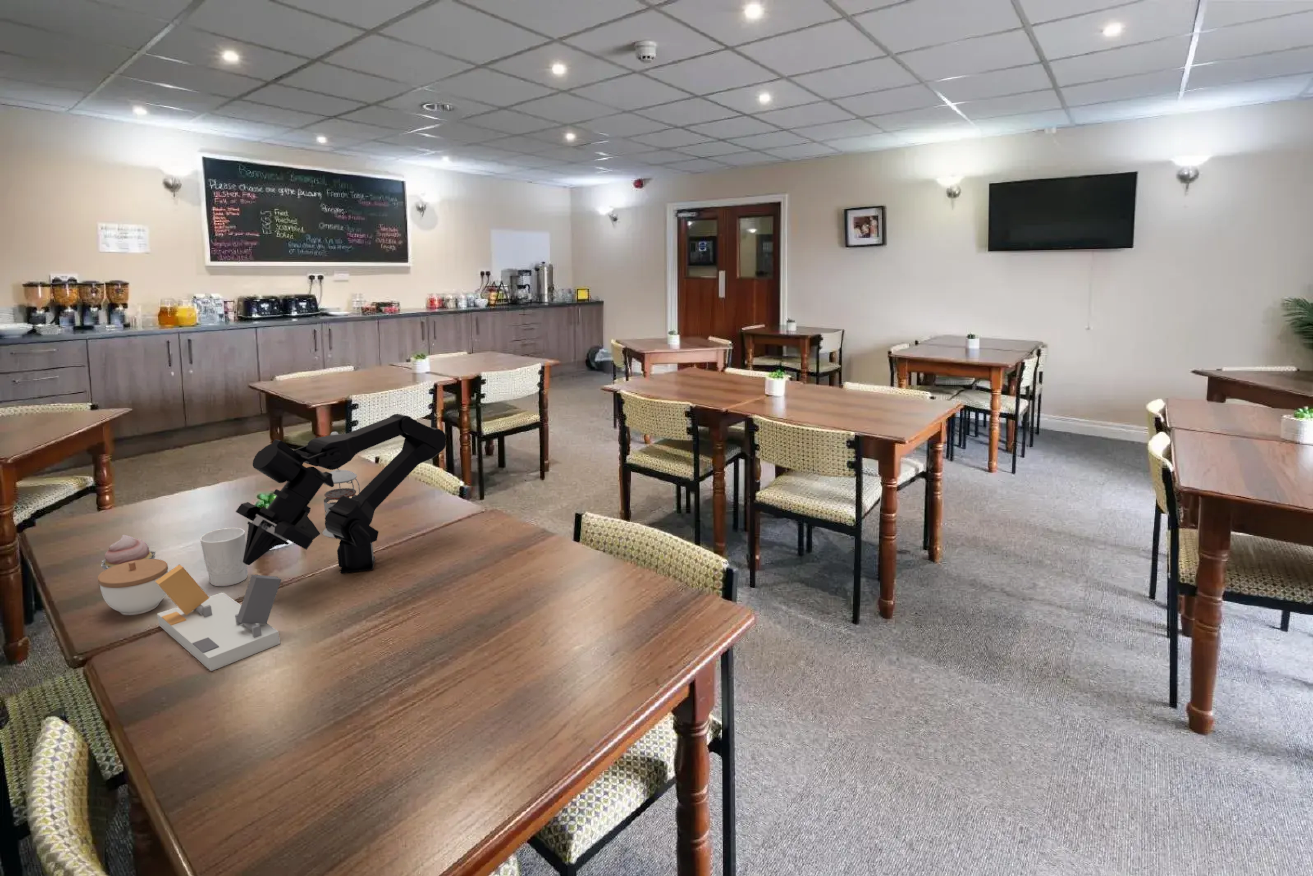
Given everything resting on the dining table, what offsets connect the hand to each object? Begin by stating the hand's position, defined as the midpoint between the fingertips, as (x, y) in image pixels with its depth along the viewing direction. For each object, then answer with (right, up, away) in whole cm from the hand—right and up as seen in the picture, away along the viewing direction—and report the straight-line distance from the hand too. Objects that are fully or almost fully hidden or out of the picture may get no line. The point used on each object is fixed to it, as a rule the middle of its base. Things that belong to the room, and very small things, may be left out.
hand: (245, 564), depth 135 cm
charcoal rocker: (+7, -9, -11) cm, 16 cm away
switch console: (0, -11, -9) cm, 14 cm away
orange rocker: (-5, -8, -5) cm, 11 cm away
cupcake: (-30, -6, +12) cm, 33 cm away
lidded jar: (-21, -9, +1) cm, 22 cm away
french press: (+1, +1, +40) cm, 40 cm away
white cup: (-11, -6, +13) cm, 17 cm away
